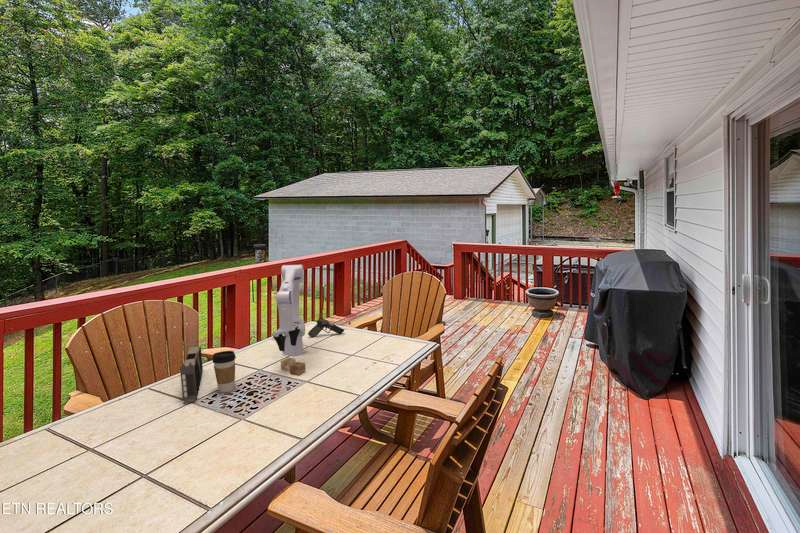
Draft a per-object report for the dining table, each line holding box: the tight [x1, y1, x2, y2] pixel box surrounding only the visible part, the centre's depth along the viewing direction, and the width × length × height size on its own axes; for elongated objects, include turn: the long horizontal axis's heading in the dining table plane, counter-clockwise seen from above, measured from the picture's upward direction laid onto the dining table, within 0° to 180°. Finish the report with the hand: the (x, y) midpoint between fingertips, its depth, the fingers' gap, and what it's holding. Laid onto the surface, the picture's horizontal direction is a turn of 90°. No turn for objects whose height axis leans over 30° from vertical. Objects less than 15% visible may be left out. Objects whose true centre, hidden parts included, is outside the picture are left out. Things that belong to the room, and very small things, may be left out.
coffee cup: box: [211, 350, 236, 394], centre depth 159 cm, size 8×8×15 cm
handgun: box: [307, 317, 345, 339], centre depth 227 cm, size 17×2×12 cm
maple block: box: [280, 357, 297, 372], centre depth 179 cm, size 4×4×4 cm
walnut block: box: [289, 361, 306, 377], centre depth 173 cm, size 4×4×4 cm
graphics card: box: [179, 346, 204, 405], centre depth 163 cm, size 33×5×14 cm, turn 22°
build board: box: [287, 370, 309, 378], centre depth 175 cm, size 14×11×1 cm
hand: (287, 348), depth 178 cm, fingers open, 7 cm apart
